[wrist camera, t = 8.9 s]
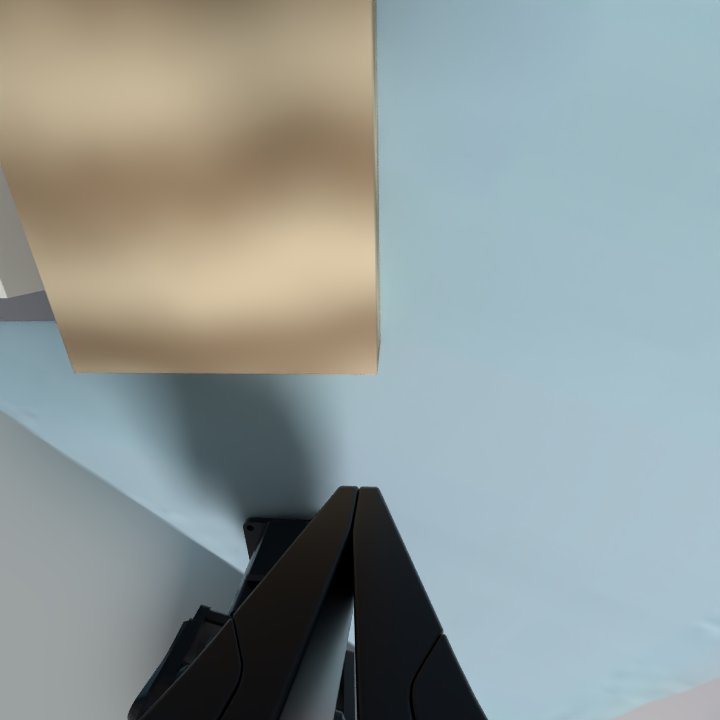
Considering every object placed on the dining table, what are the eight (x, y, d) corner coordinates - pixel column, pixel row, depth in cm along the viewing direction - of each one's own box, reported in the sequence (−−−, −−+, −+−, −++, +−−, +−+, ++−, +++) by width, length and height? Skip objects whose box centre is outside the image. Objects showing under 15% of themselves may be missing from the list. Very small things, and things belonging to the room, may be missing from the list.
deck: (380, 343, 19) (376, 374, 16) (131, 344, 21) (74, 372, 17) (375, -34, 14) (368, -126, 10) (35, -1, 15) (-82, -71, 11)
